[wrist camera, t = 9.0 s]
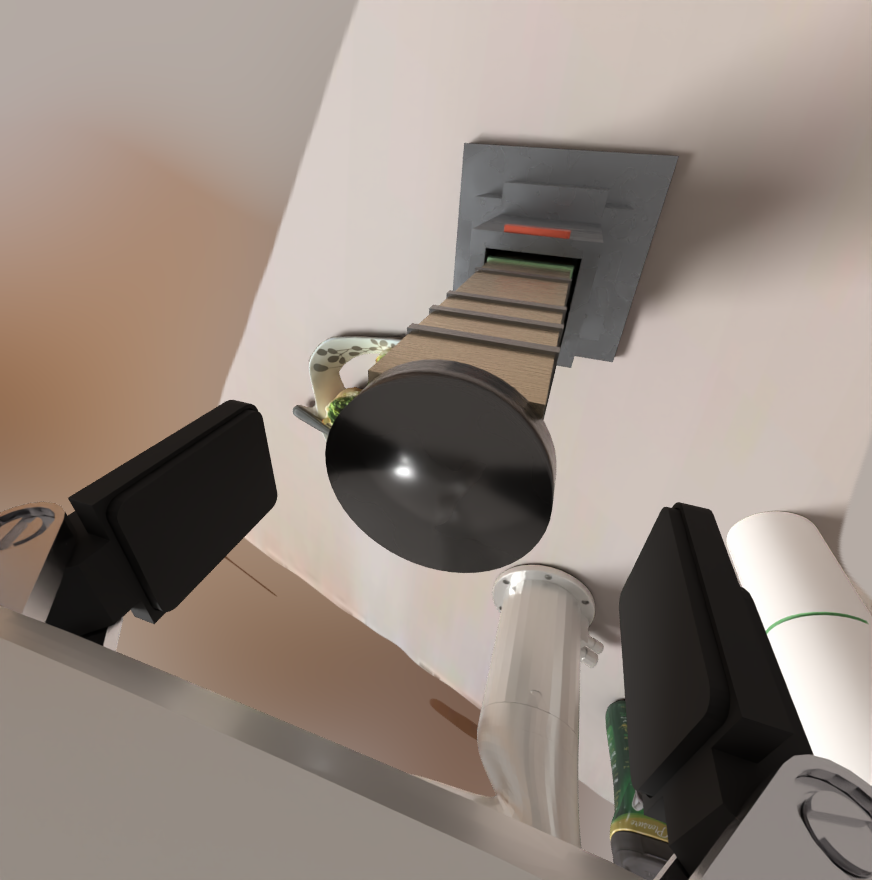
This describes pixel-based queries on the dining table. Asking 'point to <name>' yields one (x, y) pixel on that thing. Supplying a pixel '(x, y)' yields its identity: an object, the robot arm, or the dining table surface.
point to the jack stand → (566, 227)
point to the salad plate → (336, 377)
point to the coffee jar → (632, 808)
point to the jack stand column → (460, 423)
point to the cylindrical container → (812, 631)
